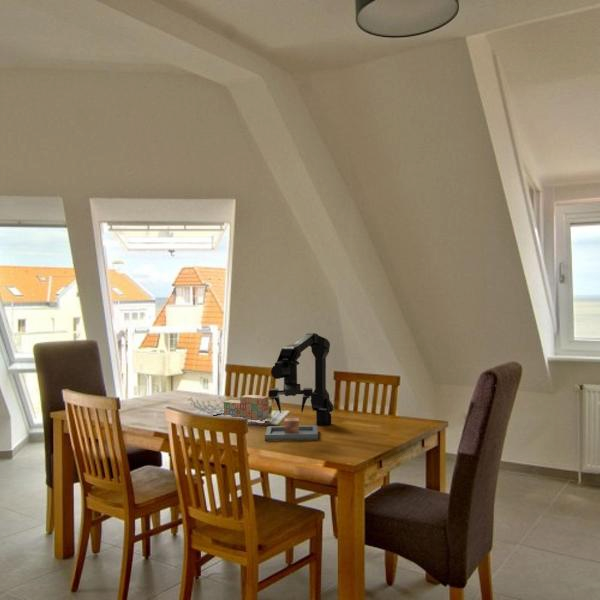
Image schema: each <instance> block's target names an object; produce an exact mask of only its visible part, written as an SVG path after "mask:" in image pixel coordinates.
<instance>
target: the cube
mask: <svg viewBox="0 0 600 600" xmlns="http://www.w3.org/2000/svg"><path fill="white" fill-rule="evenodd" d="M299 422H300V420H299V417H288V418H287V417H284V423H283V424H284V425H283V426H284V429H285V433H299V426H300V423H299Z"/></svg>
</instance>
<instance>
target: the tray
mask: <svg viewBox="0 0 600 600" xmlns="http://www.w3.org/2000/svg"><path fill="white" fill-rule="evenodd" d="M265 440H292V441H318V440H319V431H318V425H315V424H314V425H313V424H312V425H299V433H285V429H284V425H278V426H277V425H273V426H272V425H270V426H266V430H265V433H264V441H265Z"/></svg>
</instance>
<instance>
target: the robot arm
mask: <svg viewBox="0 0 600 600" xmlns="http://www.w3.org/2000/svg"><path fill="white" fill-rule="evenodd" d="M309 347H310V349H311V353H312V355H313V357H314V390H313V388H312V387H303V388H302V389H301V383H298V365H300V362H299V361H298V359H299V358H300V357H301V356H302V352H303V351H305V350H306V349H308V348H309ZM330 347H331V343H330V340H329V339H328V338H325V337H323V336H321V335H319V334H318V333H315V332H307V333H306V334H305V335H304V336H303V337H301V338H300V339H298V340H297V341H296V342H294V343H292V344H288V345H285V346H282V348H281V350H280V352H279V355H278V357H277V360H276V362H274V365H273V366H272V367H271V370H270V374H271V376H272V378H273V379H275V380H278V379H279V380H280V379H283V390H280V389H279V388H278V387H277V388H275V387H273V388H269V389H268V398H271V399H272V400H274V401H275V403H276V405H277V408H278V411H279V413H280V414H281V413H282V408H281V400H280V395H281V396H282V395H284V396H285V397H290V396H292V397H295V396H297V395H302V400H301V409H300V411H301V413H303V412H304V408H305V406H306V405H305V404H306V402H307V400H308V399H310V404H311V409H312V411H313V412H314V411H315V414H316V415H315V417H316V418H315V420H316V421H315V424H316V425H317V426H330V425H331V423H332V413H331V412H333V411H334V408H335V405H334V404H333V403H332V401H331V400H330V394H329V392H328V390H327V379H326V378H327V375H326V374H327V373H326V372H327V369H326V368H327V365H326V363H327V361H326V360H327V359H326V358H327V356H328V355H329V353H330Z"/></svg>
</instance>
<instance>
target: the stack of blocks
mask: <svg viewBox="0 0 600 600" xmlns="http://www.w3.org/2000/svg"><path fill="white" fill-rule="evenodd" d="M269 405H270V404H269V395H259V394H245V395H241V396H240V397H239V400H235V399H227V400H226V401H223V407H224V414H223V415H231V416H232V417H243V418H247V419H251V420H260V421H263V420H265V419H267V418H268V417H269V414H270V413H269V410H270V409H269V408H270V407H269Z"/></svg>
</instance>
